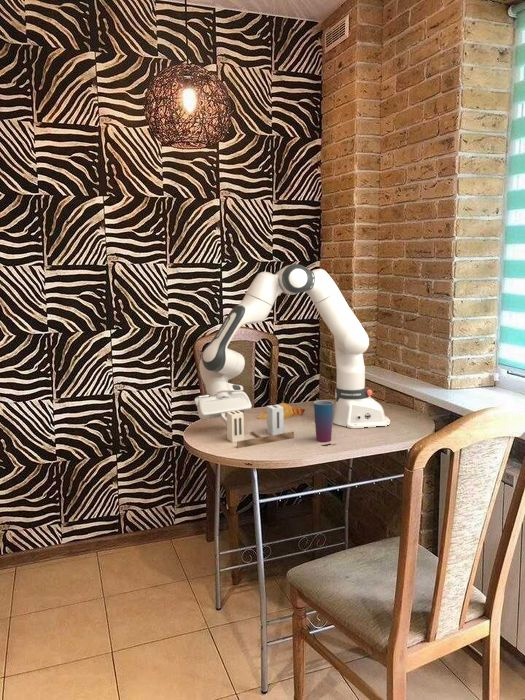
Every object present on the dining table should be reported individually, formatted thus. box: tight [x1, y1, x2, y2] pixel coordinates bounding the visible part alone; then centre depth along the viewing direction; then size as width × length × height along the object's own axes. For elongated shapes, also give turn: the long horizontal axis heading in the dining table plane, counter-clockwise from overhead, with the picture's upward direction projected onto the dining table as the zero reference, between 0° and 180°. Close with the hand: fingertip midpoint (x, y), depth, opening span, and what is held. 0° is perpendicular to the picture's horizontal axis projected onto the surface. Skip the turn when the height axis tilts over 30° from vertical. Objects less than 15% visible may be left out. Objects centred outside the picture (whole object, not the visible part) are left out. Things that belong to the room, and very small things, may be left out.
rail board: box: [236, 431, 295, 449], centre depth 200 cm, size 22×12×4 cm, turn 117°
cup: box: [313, 399, 334, 447], centre depth 196 cm, size 7×7×15 cm
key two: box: [226, 410, 245, 443], centre depth 198 cm, size 4×5×10 cm
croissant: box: [256, 402, 305, 420], centre depth 229 cm, size 21×10×8 cm, turn 114°
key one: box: [266, 404, 285, 436], centre depth 205 cm, size 4×5×10 cm
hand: (230, 424), depth 202 cm, fingers closed
